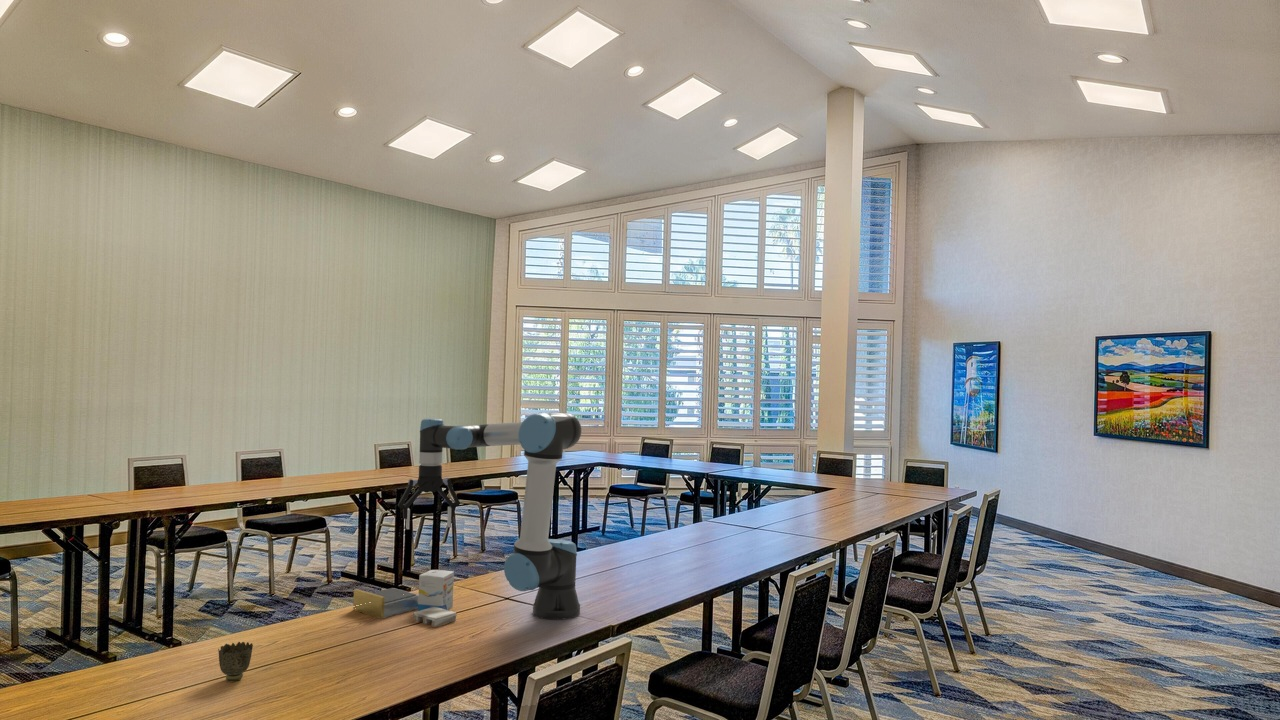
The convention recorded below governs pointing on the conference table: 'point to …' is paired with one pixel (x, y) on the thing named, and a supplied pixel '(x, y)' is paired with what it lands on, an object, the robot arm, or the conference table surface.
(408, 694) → the conference table surface
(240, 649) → the cup
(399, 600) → the dock
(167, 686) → the conference table surface
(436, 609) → the block
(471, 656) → the conference table surface
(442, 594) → the ink box
